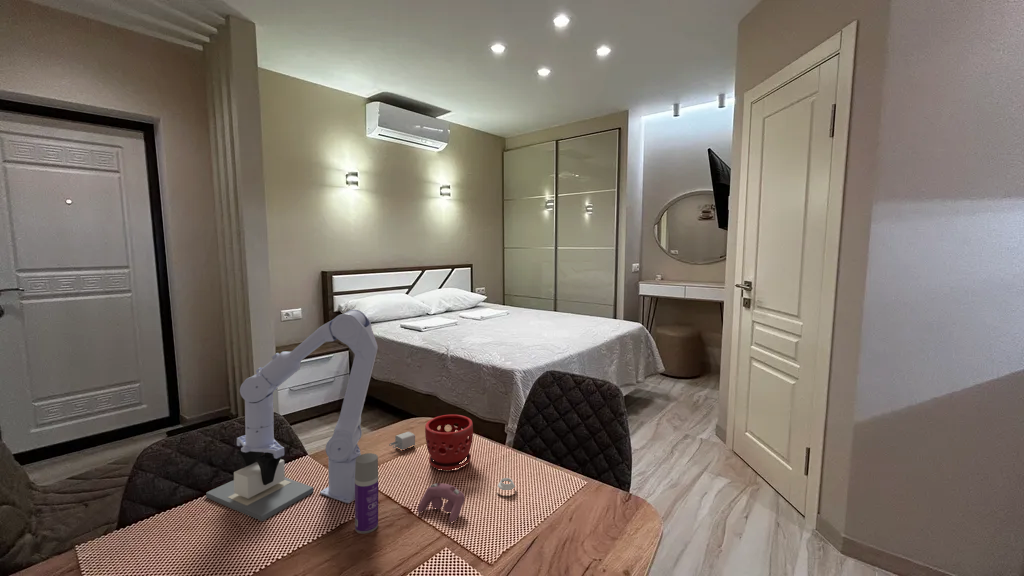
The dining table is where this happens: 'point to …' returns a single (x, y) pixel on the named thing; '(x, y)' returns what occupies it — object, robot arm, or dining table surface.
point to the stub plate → (261, 498)
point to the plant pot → (449, 441)
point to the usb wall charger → (404, 440)
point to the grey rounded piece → (506, 486)
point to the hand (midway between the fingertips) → (260, 480)
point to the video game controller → (446, 492)
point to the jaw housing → (255, 479)
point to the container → (366, 493)
